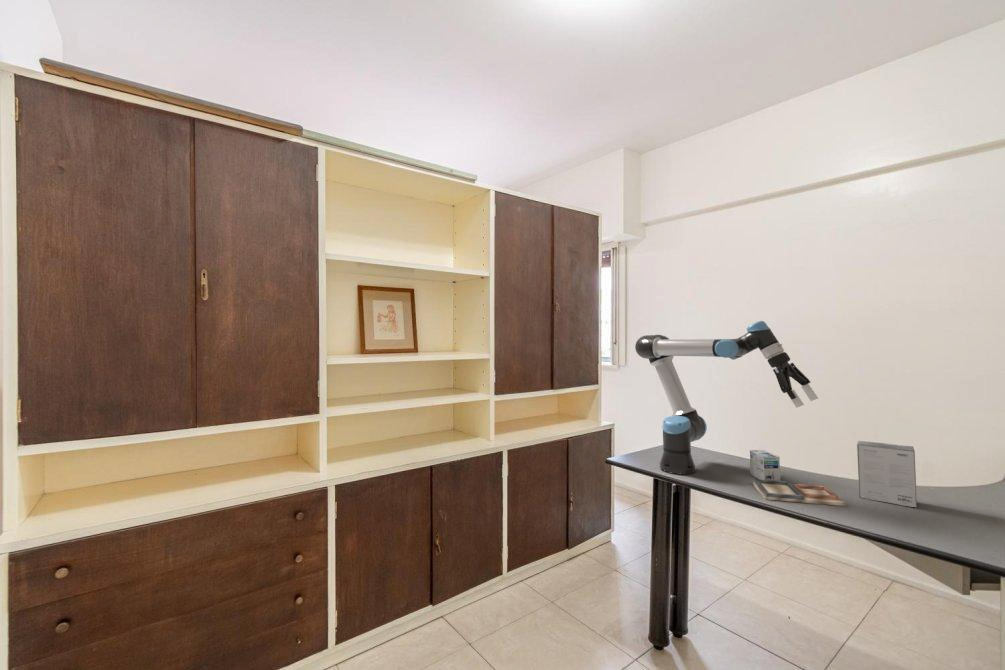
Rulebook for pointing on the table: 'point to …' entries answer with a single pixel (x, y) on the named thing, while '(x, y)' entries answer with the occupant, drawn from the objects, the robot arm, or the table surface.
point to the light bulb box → (764, 465)
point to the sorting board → (797, 492)
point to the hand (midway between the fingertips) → (807, 403)
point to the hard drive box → (887, 473)
